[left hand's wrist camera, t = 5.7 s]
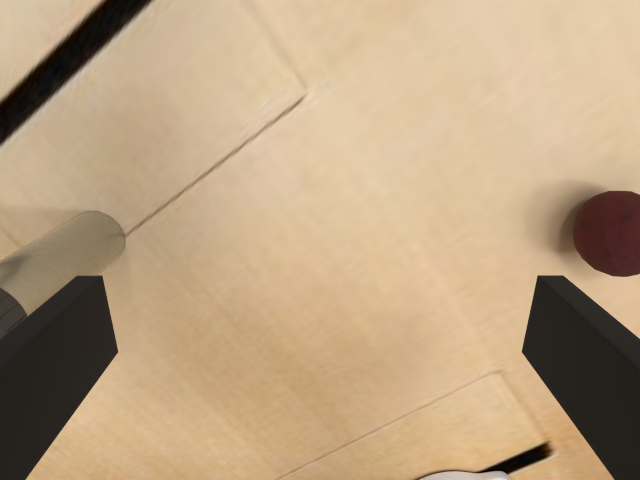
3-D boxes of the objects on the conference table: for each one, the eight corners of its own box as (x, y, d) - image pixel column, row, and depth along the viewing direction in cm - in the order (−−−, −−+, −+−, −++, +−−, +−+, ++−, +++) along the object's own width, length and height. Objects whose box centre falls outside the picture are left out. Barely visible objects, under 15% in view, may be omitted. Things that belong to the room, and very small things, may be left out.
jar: (62, 245, 42) (-97, 350, 26) (81, 200, 41) (-76, 283, 25) (113, 271, 43) (-9, 387, 27) (133, 228, 42) (17, 326, 26)
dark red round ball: (574, 268, 43) (620, 303, 37) (544, 208, 41) (588, 233, 34) (645, 231, 42) (706, 260, 35) (619, 166, 39) (679, 184, 33)
